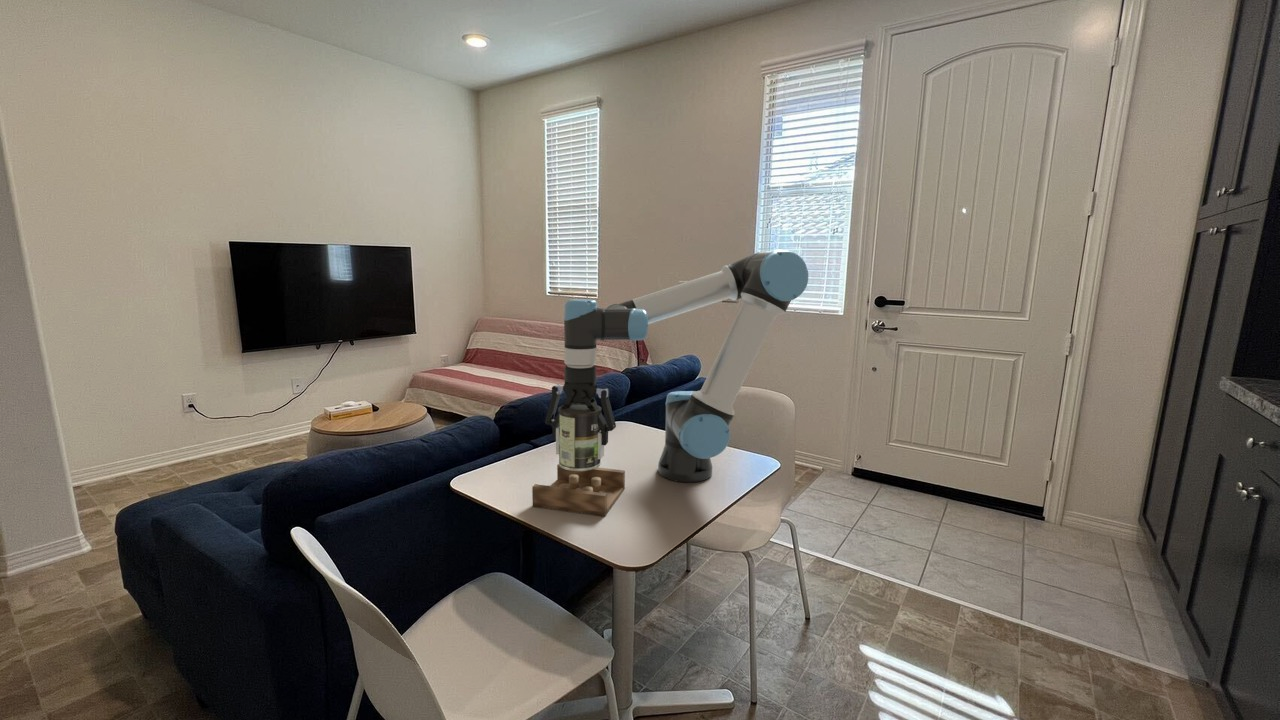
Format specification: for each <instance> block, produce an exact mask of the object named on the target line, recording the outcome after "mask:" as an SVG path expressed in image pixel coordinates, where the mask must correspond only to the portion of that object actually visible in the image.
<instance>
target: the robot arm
mask: <svg viewBox="0 0 1280 720" xmlns="http://www.w3.org/2000/svg"><path fill="white" fill-rule="evenodd" d="M808 283H809V270H808V267H807V264H806V261H804V259H803V258H802V257H801V256H800V255H799V254H798V253H795V252H794V251H791V250H785V249H774V250H769V251H759V252H756V253H753V254H750V255H748V256H746V257H743V258H742V259H740V260H736V261H734V262H732V263H729V264H725V265H723V266H722V268H721V270H720V271H717V272H713V273H710V274H707V275H704V276H701V277H698V278H695V279H691V280H688V281H685V282H682V283H680V284H676V285H673V286H670V287H667V288H664V289H660V290H658V291H655V292H650V293H648V294H645V295H642V296H639V297H636V298H633V299H630V300H627V301H623V302H621V303H613V304H611V305H608V306H607V307H606V308H602V307H599V306H598V302H597V301H596V299H595V300H594V299H584V298H581V299H580V298H574V299H569V300H567V301H566V302H565V303H564V315H563V316H564V319H563V322H564V326H563V331H564V336H563V337H564V353H563V354H564V355H563V356H564V357H563V358H564V359H563V360H564V364H565V366H564V369H563V371H564V383H563V385H560V384H559V383H557V384H555V385H554V386H552V387H551V398H550V402H549V406H548V409H547V412H546V416H545V420H544V424H545V425H549V426H550V427H551V428H552V441H553V440H554V441H555V455H559V412H558V413H557V414H556V412H557V411H558V410H557V409H558V405H559V402H560V398H561V394H563V392H564V394H565V396H566V398H565V400H564V402H563V404H562V405H561V406H562V409H567V408H569V407H570V406H571V405H572V403H573V404H578V403H579V404H582V405H585V404H586V406H587V407H588V408H589V409H590V411H596V410H598V409H599V408H598V406H599V405H598V404H597V401H596V397H595V396H596V395H598V398H599V399H600V403H601V408H602V411H603V413H602V412H601V414H600V415H598V426H599V428H600V430H601V431H599V432H598V459H603V457H605V446H606V445H608V443H609V432H612V431H613V430H615V429H616V428H617V424H616V420H615V417H614V412H613V410H612V406H611V401H610V398H609V397H610V389H609V388H599V387H598V386H597V366H596V364H597V341H631V342H635V341H644V340H645V339H646V338H647V336H648V333H649V332H648V331H649V325H651V324H654V323H657V322H659V321H663V320H665V319H669V318H673V317H675V316H678V315H681V314H684V313H685V314H686V313H688V312H691V311H694V310H697V309H700V308H703V307H707V306H710V305H713V304H715V303H719V302H721V301H725V300H728V299H729V300H731V301H737V300H740V299H741V300H742V305H741V306H740V309H739V311H738V313H737V315H736V316H735V318H734V321H733V323H732V325H731V327H730V328H729V331H728V333H727V335H726V337H725V339H724V341H723V344H722V345H721V348H720V349H719V352H718V353H717V356H716V358H715V359H714V362H713V364H712V365H711V367H710V370H709V372H708V374H707V376H706V379H705V380H704V382H703V384H702V387H701V389H700V390H697V391H695V390H687V391H686V390H677V391H671V392H669V393H668V394H667V395H666V400H665V429H664V430H665V432H664V433H665V436H664V437H665V439H664V441H665V442H664V446H663V450H662V452H661V454H660V457H659V460H658V463H657V464H658V465H657V471H658V474H659V475H660V476H661V477H663V478H664V479H667V480H670V481H674V482H678V483H679V482H680V483H697V482H703V481H706V480H708V479H710V478H711V477H712V475H713V463H712V460H711V459H712V458H714V457H717V456H719V455H721V454H722V452H724V451H725V450H726V448H727V446H729V443H730V439H731V431H730V424H731V423H732V421H733V418H734V417H735V413H736V412H735V410H734V408H733V404H734V402H735V400H736V398H737V396H738V394H739V392H740V390H741V388H742V386H743V384H744V382H745V380H746V378H747V376H748V374H749V372H750V371H751V368H752V366H753V363H755V362H754V361H755V359H756V357H757V356H758V354H759V352H760V350H761V348H762V345H763V344H764V342H765V339H766V337H767V335H768V334H769V331H770V329H771V328H772V326H773V323H774V322H775V319H776V318H777V317H779V316H782V315H785V314H786V311H787V309H788V308H789V306H790V304H791V301H793V300H795V299H797V298H798V297H800V296H801V295H802V294H803V293H804V291H805V290H806V288H807V286H808ZM597 405H598V406H597ZM603 414H604V415H603ZM555 415H556V416H555Z"/></svg>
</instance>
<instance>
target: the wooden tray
mask: <svg viewBox="0 0 1280 720" xmlns="http://www.w3.org/2000/svg"><path fill="white" fill-rule="evenodd" d="M556 467H557V468H556V470H557V471H556V473H557V474H556V475H557V476H556V477H557V479H556V480H555V481H554V482H553V483H552V484H551V485H544V484H536V483H535V484H533V486H532V488H531V489H532V490H531V492H532V496H531V497H532V507H533V508H541V509H546V510H547V509H548V510H555V511H562V512H568V513H569V512H570V513H576V514H583V515H591V516H598V517H603V518H605V517H606V516H607V515H608V513H609V511H610V510H611V509H612V507H613V506H614V505H615V504H616V502H617V500H619V498H620V497H621V495H622V494H623V492H624V491H625V489H626V487H625V485H626V484H625V482H626V473H625V472H626V470H622V469H613V468H607V467H605V468H604V467H598V468H595V469H593V470H588V471H569V470H565V469H563V468H561V467H560V466H559V463H557V466H556Z"/></svg>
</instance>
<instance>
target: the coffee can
mask: <svg viewBox="0 0 1280 720" xmlns="http://www.w3.org/2000/svg"><path fill="white" fill-rule="evenodd" d="M562 406H563V405H560V406H559V407H557V409H558V410H557V411H558V413H559V454H558V458H559V459H558V461H559V462H558V464H559V466H560V467H561V468H563V469H565V470H569V471H588V470H593V469H595V468H600V467H601V463H602V462H601V459H602V458H601V459H598V432H599V431H601V430H600V428H599V426H598V415H600V414H601V413H602V411H603V408H602V406H600V405H598V404H597V406H598V408H599V409H598V410H596V411H590V409H589V408H588V407H587V406H586V404H585V405H582V404H579V403H578V404H573V403H572V405H571V406H570V407H569V408H567V409H562Z"/></svg>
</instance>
